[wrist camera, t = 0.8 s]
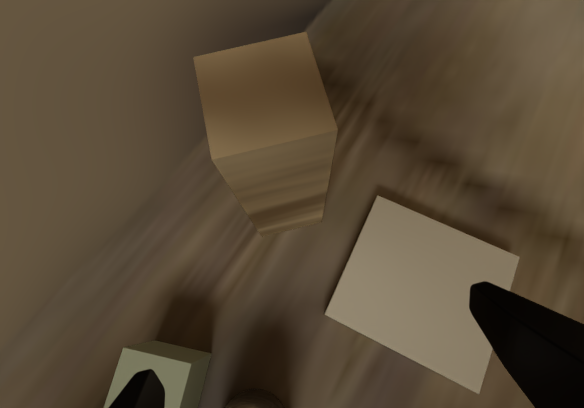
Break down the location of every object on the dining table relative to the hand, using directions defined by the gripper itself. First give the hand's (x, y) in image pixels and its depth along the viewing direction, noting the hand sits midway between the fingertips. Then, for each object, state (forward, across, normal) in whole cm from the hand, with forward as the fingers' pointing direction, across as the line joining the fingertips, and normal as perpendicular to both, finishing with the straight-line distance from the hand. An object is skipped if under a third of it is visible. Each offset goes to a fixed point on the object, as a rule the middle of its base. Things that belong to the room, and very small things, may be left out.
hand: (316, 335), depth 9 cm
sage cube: (+8, +10, +11) cm, 17 cm away
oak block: (+16, 0, +3) cm, 16 cm away
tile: (+10, -8, +9) cm, 15 cm away
